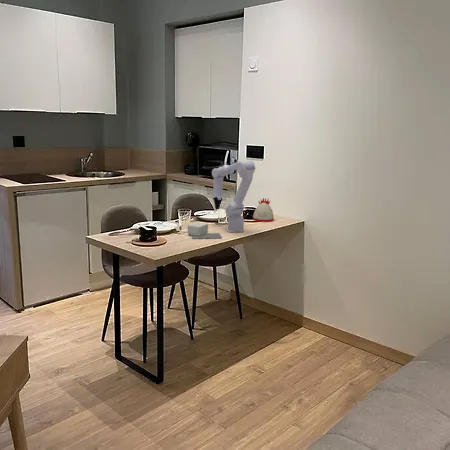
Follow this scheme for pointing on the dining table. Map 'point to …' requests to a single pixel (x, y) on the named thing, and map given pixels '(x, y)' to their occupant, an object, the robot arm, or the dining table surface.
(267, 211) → the spiked white dome
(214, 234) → the mat
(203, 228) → the small box
